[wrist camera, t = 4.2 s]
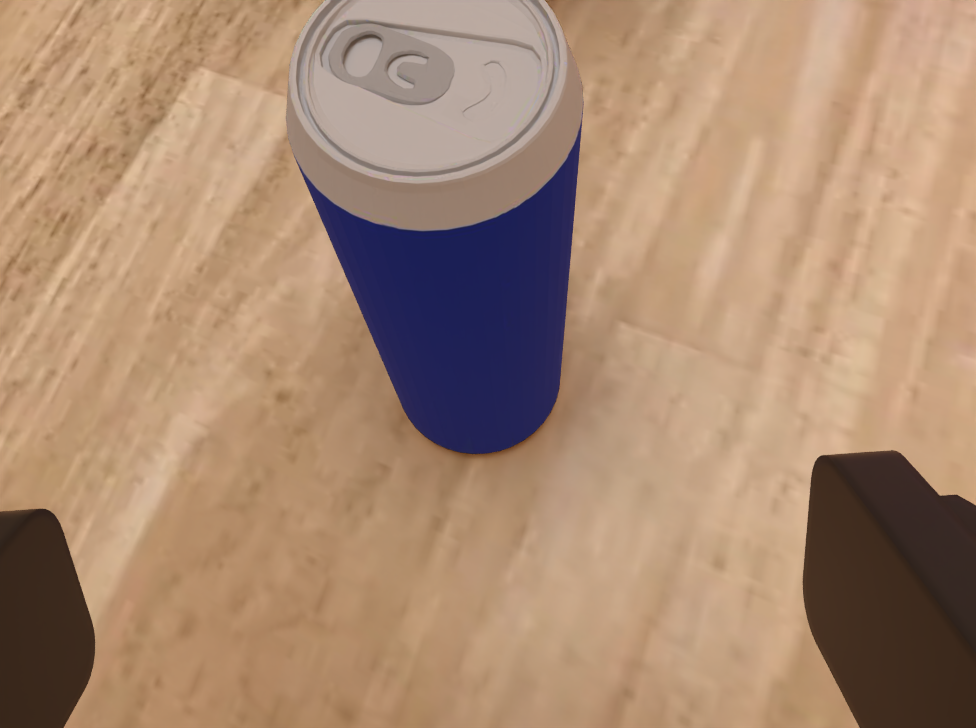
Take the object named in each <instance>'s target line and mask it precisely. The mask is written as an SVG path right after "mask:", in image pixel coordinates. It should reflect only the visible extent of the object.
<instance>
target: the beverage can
mask: <svg viewBox="0 0 976 728" xmlns="http://www.w3.org/2000/svg"><path fill="white" fill-rule="evenodd" d="M583 103H584V102H583V90H582V82H581V78H580V75H579V71H578V68H577V64H576V62H575V59H574V57H573V55H572V52H571V50H570V47H569V45H568V43H567V40H566V38H565V35H564V32H563V30H562V28H561V26H560V24H559V22H558V20H557V18H556V16H555V14H554V12H553V11H552V9H551V8H550V7H549V5H548V4H547V3H546V1H545V0H325V1H324V2H323V3H322V4H321V5H320V6H319V7H318V8H317V9H316V10H315V11H314V13H313V14H312V16H311V17H310V19H309V20H308V22H307V23H306V24H305V26H304V27H303V29H302V31H301V34H300V36H299V38H298V40H297V42H296V44H295V47H294V50H293V54H292V58H291V62H290V67H289V81H288V94H287V109H286V123H287V131H288V138H289V141H290V145H291V148H292V151H293V154H294V157H295V159H296V161H297V164H298V166H299V168H300V171H301V173H302V175H303V178H304V180H305V182H306V184H307V187H308V189H309V191H310V194H311V196H312V198H313V201H314V203H315V205H316V208H317V210H318V212H319V215H320V217H321V219H322V222H323V224H324V226H325V228H326V231H327V233H328V235H329V238H330V240H331V242H332V245H333V247H334V249H335V252H336V254H337V256H338V259H339V261H340V263H341V266H342V268H343V270H344V273H345V275H346V277H347V279H348V282H349V284H350V286H351V289H352V291H353V293H354V296H355V298H356V300H357V303H358V305H359V307H360V310H361V312H362V314H363V317H364V319H365V321H366V323H367V326H368V328H369V330H370V333H371V335H372V337H373V340H374V342H375V344H376V347H377V349H378V351H379V354H380V356H381V358H382V361H383V363H384V365H385V367H386V370H387V372H388V374H389V377H390V379H391V381H392V384H393V386H394V388H395V391H396V393H397V395H398V398H399V400H400V402H401V405H402V407H403V409H404V411H405V413H406V414H407V416H408V418H409V420H410V421H411V422H412V423H413V425H414V426H415V427H416V428H417V429H418V430H419V431H420V432H421V433H422V434H423V435H424V436H425V437H427V438H428V439H430V440H431V441H433V442H434V443H436V444H438V445H440V446H442V447H445V448H447V449H450V450H453V451H457V452H461V453H470V454H484V453H492V452H497V451H501V450H504V449H507V448H509V447H512V446H514V445H516V444H518V443H520V442H521V441H523V440H525V439H526V438H527V437H529V436H530V435H531V434H533V433H534V432H535V431H536V430H537V429H538V428H539V427H540V426H541V425H542V424H543V423H544V421H545V420H546V418H547V417H548V415H549V414H550V412H551V410H552V408H553V406H554V404H555V402H556V398H557V395H558V391H559V385H560V375H561V363H562V351H563V340H564V328H565V316H566V304H567V292H568V280H569V269H570V257H571V245H572V233H573V221H574V210H575V198H576V186H577V174H578V162H579V151H580V139H581V127H582V115H583Z"/></svg>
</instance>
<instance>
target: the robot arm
mask: <svg viewBox="0 0 976 728" xmlns="http://www.w3.org/2000/svg"><path fill="white" fill-rule="evenodd" d="M803 596H804V604H805V610H806V615H807V619H808V623H809V626H810V629H811V632H812V635H813V637H814V639H815V642H816V644H817V646H818V648H819V650H820V652H821V653H822V655H823V657H824V659H825V661H826V663H827V665H828V667H829V669H830V671H831V673H832V675H833V677H834V679H835V681H836V683H837V685H838V686H839V688H840V690H841V692H842V694H843V696H844V698H845V700H846V702H847V704H848V706H849V708H850V710H851V712H852V714H853V716H854V718H855V719H856V721H857V723H858V725H859V727H860V728H976V505H974V504H972V503H971V502H969V501H967V500H965V499H963V498H962V497H960V496H958V495H946V496H939V495H938V493H937V492H936V491H935V490H934V489H933V488H932V487H931V486H930V485H929V484H928V482H927V481H926V480H925V479H924V478H923V477H922V476H921V475H920V474H919V472H918V471H917V470H916V469H915V468H914V467H913V466H912V465H911V464H910V463H909V461H908V460H907V459H906V458H905V457H904V456H903V455H902V454H901V453H899V452H897V451H893V450H891V451H877V452H863V453H849V454H835V455H823V456H820V457H819V458H817V460H816V462H815V464H814V467H813V471H812V477H811V487H810V499H809V511H808V523H807V535H806V547H805V558H804V570H803ZM94 656H95V634H94V628H93V624H92V620H91V617H90V614H89V611H88V608H87V605H86V601H85V598H84V595H83V592H82V589H81V586H80V583H79V580H78V576H77V573H76V570H75V567H74V564H73V561H72V558H71V555H70V551H69V548H68V545H67V542H66V539H65V536H64V533H63V530H62V527H61V525H60V523H59V521H58V519H57V518H56V516H55V515H54V514H53V513H52V512H50V511H49V510H46V509H30V510H16V511H2V512H0V728H64V726H65V724H66V722H67V720H68V719H69V717H70V715H71V713H72V711H73V710H74V708H75V706H76V704H77V702H78V701H79V699H80V697H81V695H82V693H83V692H84V690H85V688H86V686H87V684H88V681H89V679H90V676H91V672H92V668H93V663H94Z"/></svg>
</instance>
